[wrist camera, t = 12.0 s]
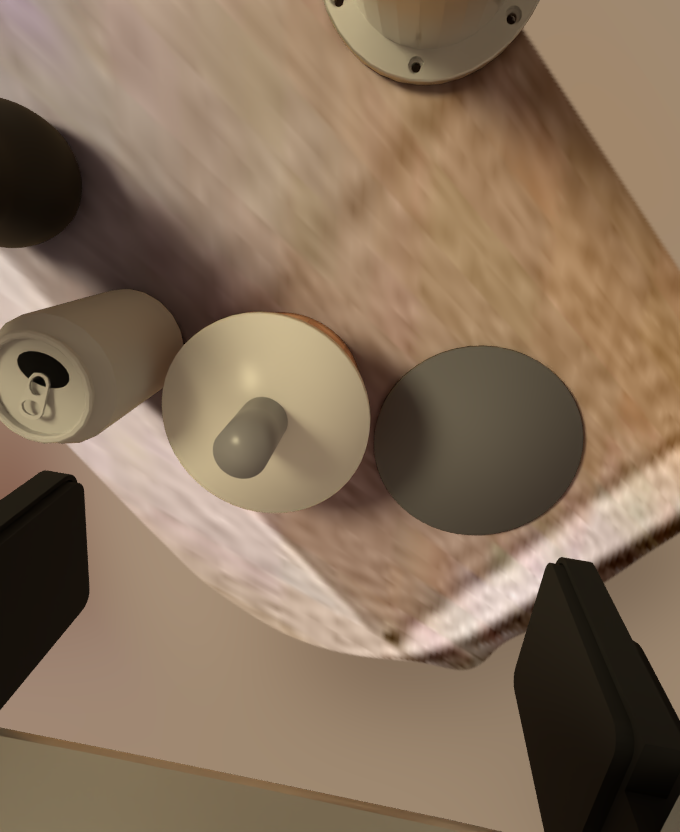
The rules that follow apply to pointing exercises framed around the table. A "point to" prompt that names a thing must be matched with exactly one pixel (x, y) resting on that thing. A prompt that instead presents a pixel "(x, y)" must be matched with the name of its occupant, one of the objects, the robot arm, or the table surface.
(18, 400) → the can
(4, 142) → the cola bottle
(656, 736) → the robot arm
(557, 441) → the mat
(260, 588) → the table surface
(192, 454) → the lid
